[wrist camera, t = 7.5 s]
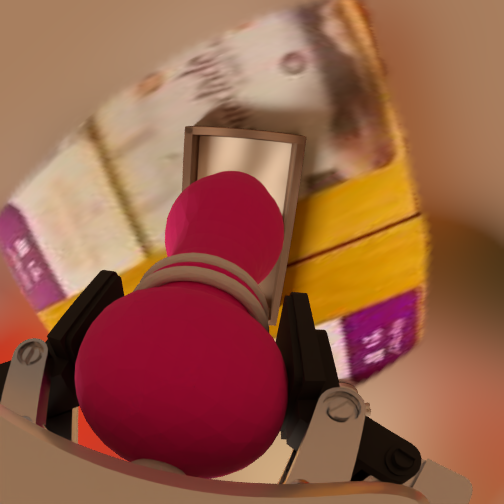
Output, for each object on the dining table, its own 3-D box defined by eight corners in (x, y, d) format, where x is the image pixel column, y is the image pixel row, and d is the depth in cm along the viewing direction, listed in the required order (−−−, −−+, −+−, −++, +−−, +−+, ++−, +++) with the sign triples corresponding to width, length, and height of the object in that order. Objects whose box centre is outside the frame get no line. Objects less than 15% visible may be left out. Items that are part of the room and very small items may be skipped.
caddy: (301, 135, 29) (306, 137, 26) (274, 309, 39) (275, 325, 36) (193, 125, 29) (185, 126, 26) (189, 300, 39) (184, 315, 36)
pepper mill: (202, 149, 19) (-71, 358, 1) (295, 185, 20) (417, 502, 2) (174, 235, 22) (38, 482, 4) (258, 265, 23) (248, 544, 5)
